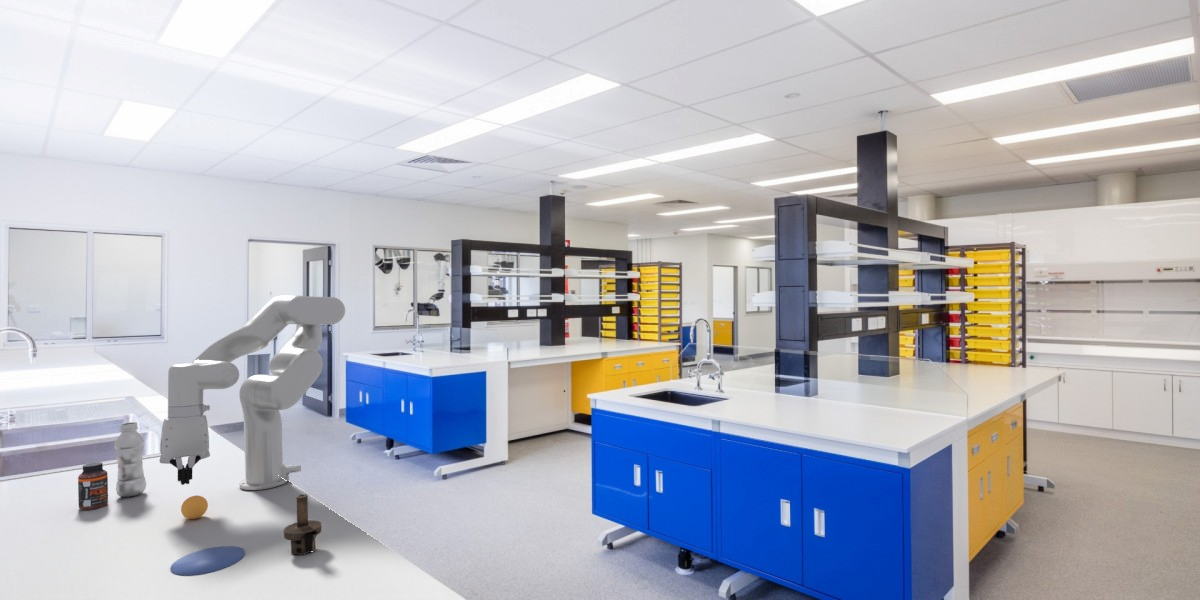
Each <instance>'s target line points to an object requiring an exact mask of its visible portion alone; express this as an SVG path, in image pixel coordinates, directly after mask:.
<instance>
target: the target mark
mask: <svg viewBox="0 0 1200 600" xmlns="http://www.w3.org/2000/svg"><path fill="white" fill-rule="evenodd" d="M245 555H246V551H245V549H244V548H242V547H239V546H234V545H224V546H223V545H222V546H215V547H208V548H205V549H201V550H198V551H197V550H196V551H193V552H192V553H189V554H186V555H184V556H181V557H180V558H178V559H177V560H175V561H173V562H172V564H171V566H170V568H169V569H170V572H171V573H172V574H174V573H175V575H178V576H196V575H197V576H198V575H203V574H204V575H205V574H209V573H212V572H216V571H219V570H222V569H226V568H229V567H230V566H232V565H234V564H236V563H238V562H239V561H241V559H243V558H244V557H245Z"/></svg>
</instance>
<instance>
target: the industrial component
mask: <svg viewBox="0 0 1200 600" xmlns="http://www.w3.org/2000/svg"><path fill="white" fill-rule="evenodd" d="M295 498H296V499H295V500H296V522H293V523H291V524H289V525H287V526H286V527H284V529H283V538H284V539H285V540H286V541H290V553H291V555H293V554H299V555H298V556H301V555H300V554H303V555H305V554H304V553H306V552H307V553H309V552H308V551H314V550H315V551H316V539H317V536H318V535H320V534H321V532H322V522H321V521H319V520H313V519H312V520H309V502H308V500H309V499H308V494H307V493H304V494H298V495H297V496H296V497H295ZM315 551H314V552H315ZM307 553H306V554H307Z"/></svg>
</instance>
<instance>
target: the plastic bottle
mask: <svg viewBox="0 0 1200 600" xmlns="http://www.w3.org/2000/svg"><path fill="white" fill-rule="evenodd" d="M119 427H120V429H119V432H121V433H120V434H119V436H118V437H117V438H116V440H115V441H114V451H115V456H116V462H117V481H116V484H115V487H116V488H115V491H116V494H117V496H118V497H120V498H127V497H129V498H130V496H131V497H134V496H139V495H140V494H143V493H144V492H145V490H147V489H146V488H147V480H146V477H145V473H144V468H143V467H144V466H143V463H144V462H143V460H144V459H143V457H144V454H143V453H144V447H145V440H144V437H143V436H142V435H141V434H140V433H139V432H138V430H139V427H138V421H130V422H124V423H120V426H119Z"/></svg>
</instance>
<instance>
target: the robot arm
mask: <svg viewBox="0 0 1200 600" xmlns="http://www.w3.org/2000/svg"><path fill="white" fill-rule="evenodd" d="M345 314H346V307H345V305H344V303H343V301H341V299H339V298H337V297H335V296H306V295H278V296H275V297H273V298H271V299H270V300H268V301H267V302H266V303H265V304H264V305H262V307H261V308H260V309H258V311H256V313H255V314H253V316H252V317H251V318H249V319H248V321H246V322H245V323H244V324H243V325H241V326H240V327H239V328H238V329H236V330H234V331H232V332H230V333H229V334H227V335H225V336H224V337H222V338H220V339H218V340H217V341H215V342H214V343H212V344H211V345H209V346H208V347H207V348H205V349H204V350H203V351H202V352H201V353H200V354H199V355H198V356H197V357H195V359H193V361H192V362H191V363H190V362H189V363H188V362H187V363H177V364H172V365H171V366H170V367H169V369H168V373H167V376H168V377H167V379H168V380H167V417H165V418H163V421H162V426H161V433H160V434H161V435H160V457H159V463H160V464H163V465H164V464H168V465H169V464H170V465H172V466H173V467H175V468H176V469H177V482H180V485H182V486H183V485H185V484H186V485H189V484H190V481H191V480H193V468H194V466H195V465H196V464H197V463H198V462H200V461H201V460H204V459H206V458H209V457H210V456H211V453H210V436H209V435H210V434H209V433H210V431H209V424H208V419H207V415H206V414H205V412H207V411H210V410H211V408H210V407H211V405H210V404H208V405H206V404H205V403H204V390H226V389H229V388H231V387H232V386H234V385H235V384H237V382H238V380H239V378H240V369H239V368H238V367H237V365H235V364H234V363H232V362H233V361H235V360H237V359H239V358H241V357H244V356H246V355H250V354H253V353H256V352H259V351H260V350H263V349H265V348H266V347H268V346H269V345H270V344H271V343H272V341H274V339H276V338H277V337H278V335H280V333H281V332H282V331H283V330H285V328H286V327H287V326H289V325H296V328H295V331H294V333H293V334H292V335H291V337H289V339H288V340H287V341H286V342H285V343H284V344H283V346H281V348H280V349H279V350H278V351H277V352H276V353H275V354H274V355H273V356H272V358H271V359H270V361H269V363H268V369H269V372H270V373H271V374H254V375H252V376H249V377H247V378H246V379H245V380H244V381H243V382H242V383H241V385H240V388H239V395H238V396H239V401H240V405H241V409H242V415H243V416H242V417H243V427H244V428H243V429H244V431H243V432H244V435H243V436H244V464H245V465H244V470H245V478H243V480H241V481H240V482H239V489H241V490H245V491H260V490H261V491H262V490H268V489H271V488H272V489H273V488H275V487H276V488H277V487H279V486H282V485H285V484H286V483H287V481H288V482H289V480H290V474H292V473H298V472H301V471H302V466H301V464H298V465H294V464H292V465H290V464H289V465H287V466H286V464H284V462H283V461H284V460H283V459H284V458H283V456H284V455H283V454H284V453H283V452H284V451H283V427H282V426H283V423H282V421H283V420H282V417H281V413H280V411H285V410H288V409H291V408H292V407H294V406H295V405H296V404H297V403H298V402H299V400H301V399H302V397H303V396H304V395H305V394H306V393H307V392H308V390H309V389H310V388H311V387H312V385H314V383H315V382H316V381H317V380H318V378H319V376H320V375H321V373H322V371H323V370H322V369H323V367H324V362H323V357H322V355H321V354H320V353H319V352H318V350H319V349H320V347H321V346H322V343H323V330H322V325H335V324H338V323H339V322H341V320H343V319H344V318H345ZM185 457H187V463H186V464H185V465H184V464H183V459H182V458H185ZM278 475H279V476H278ZM281 477H282V478H284V479H285V480H287V481H285V480H284V479H282V478H281ZM285 482H286V483H285Z"/></svg>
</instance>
